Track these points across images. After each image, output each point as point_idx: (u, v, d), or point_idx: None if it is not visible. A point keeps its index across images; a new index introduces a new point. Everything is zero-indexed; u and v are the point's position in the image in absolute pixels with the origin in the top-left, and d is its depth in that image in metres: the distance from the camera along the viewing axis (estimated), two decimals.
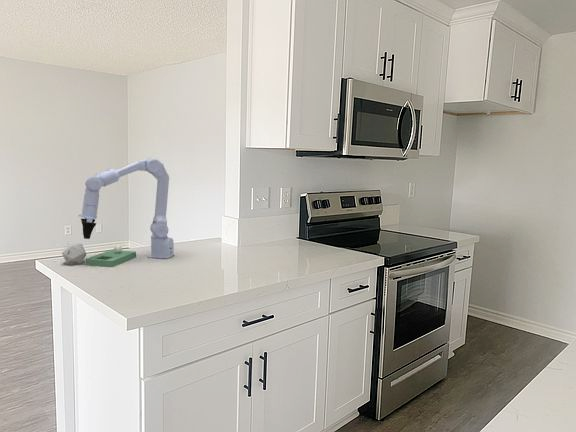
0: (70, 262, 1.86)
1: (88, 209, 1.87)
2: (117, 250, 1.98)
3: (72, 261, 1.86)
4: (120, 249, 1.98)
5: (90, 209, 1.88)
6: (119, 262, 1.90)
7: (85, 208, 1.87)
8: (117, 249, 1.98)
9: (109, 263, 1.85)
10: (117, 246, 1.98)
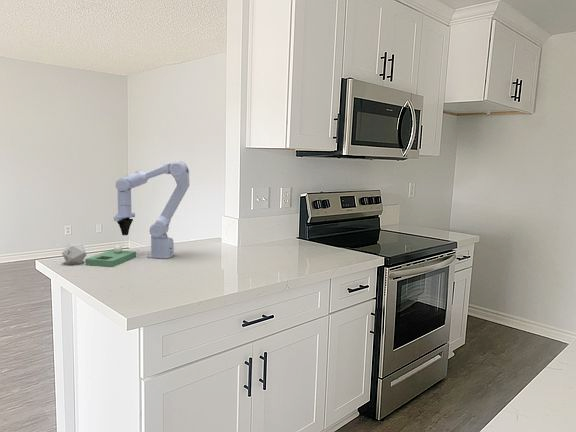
0: (70, 262, 1.86)
1: (120, 208, 2.00)
2: (117, 250, 1.98)
3: (72, 261, 1.86)
4: (120, 249, 1.98)
5: (121, 208, 2.00)
6: (119, 262, 1.90)
7: (118, 208, 2.01)
8: (117, 249, 1.98)
9: (109, 263, 1.85)
10: (117, 246, 1.98)
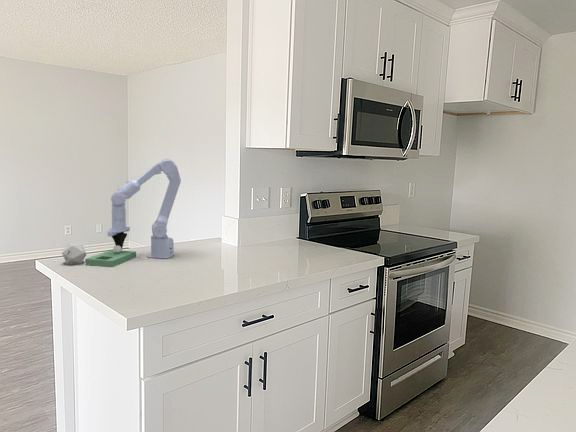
0: (70, 262, 1.86)
1: (114, 223, 1.96)
2: (117, 251, 1.97)
3: (72, 261, 1.86)
4: (119, 250, 1.98)
5: (115, 223, 1.96)
6: (119, 262, 1.90)
7: (112, 222, 1.97)
8: (116, 250, 1.97)
9: (109, 263, 1.85)
10: (116, 247, 1.97)
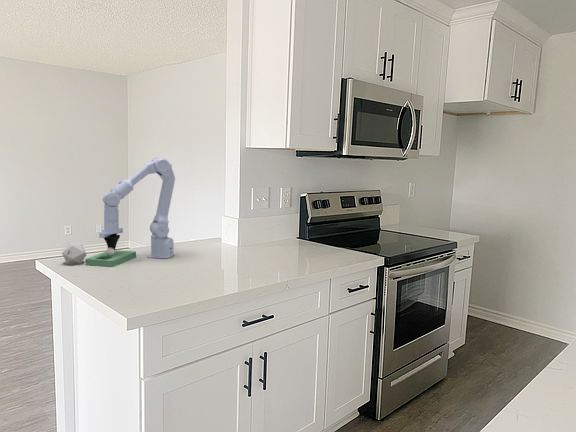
0: (70, 262, 1.86)
1: (106, 224, 1.91)
2: None
3: (72, 261, 1.86)
4: (114, 251, 1.94)
5: (107, 224, 1.91)
6: (119, 262, 1.90)
7: (104, 224, 1.92)
8: None
9: (109, 263, 1.85)
10: None
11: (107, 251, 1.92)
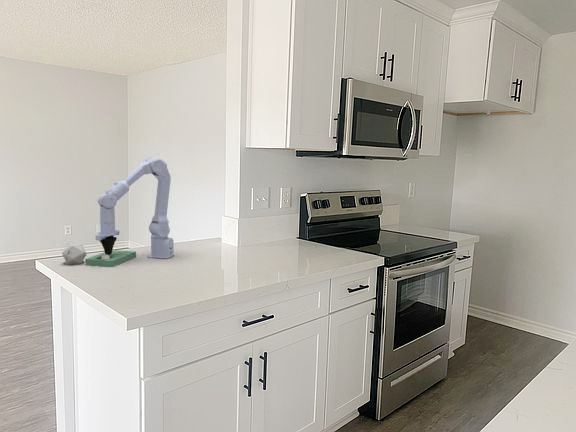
0: (70, 262, 1.86)
1: (102, 226, 1.88)
2: (105, 257, 1.88)
3: (72, 261, 1.86)
4: (108, 258, 1.89)
5: (104, 226, 1.88)
6: (119, 262, 1.90)
7: (100, 226, 1.89)
8: (106, 256, 1.89)
9: (109, 263, 1.85)
10: (107, 255, 1.90)
11: None
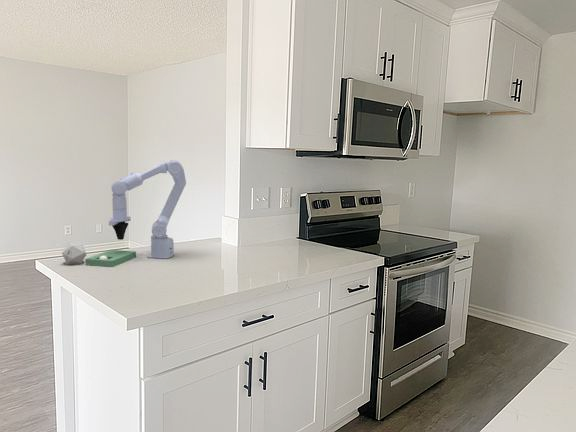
0: (70, 262, 1.86)
1: (115, 212, 1.96)
2: None
3: (72, 261, 1.86)
4: None
5: (116, 212, 1.96)
6: (119, 262, 1.90)
7: (113, 212, 1.97)
8: None
9: (109, 263, 1.85)
10: (103, 257, 1.87)
11: None
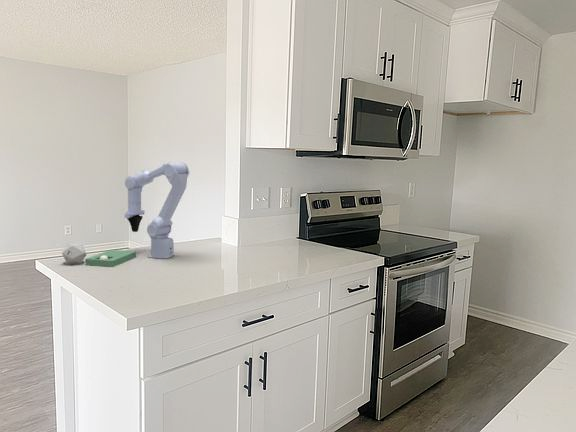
0: (70, 262, 1.86)
1: (130, 206, 2.07)
2: None
3: (72, 261, 1.86)
4: None
5: (131, 206, 2.06)
6: (119, 262, 1.90)
7: (128, 205, 2.08)
8: (103, 259, 1.87)
9: (109, 263, 1.85)
10: (103, 256, 1.88)
11: None
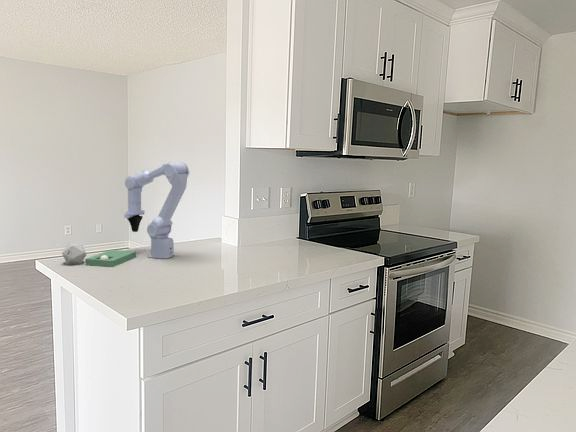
0: (70, 262, 1.86)
1: (130, 206, 2.07)
2: None
3: (72, 261, 1.86)
4: (107, 259, 1.88)
5: (131, 206, 2.06)
6: (119, 262, 1.90)
7: (128, 205, 2.08)
8: (104, 258, 1.87)
9: (109, 263, 1.85)
10: (104, 256, 1.88)
11: None
